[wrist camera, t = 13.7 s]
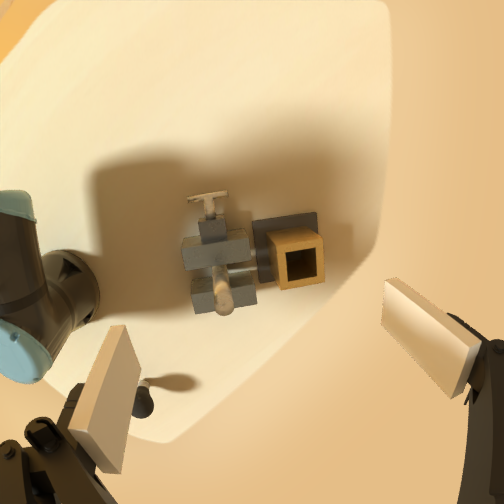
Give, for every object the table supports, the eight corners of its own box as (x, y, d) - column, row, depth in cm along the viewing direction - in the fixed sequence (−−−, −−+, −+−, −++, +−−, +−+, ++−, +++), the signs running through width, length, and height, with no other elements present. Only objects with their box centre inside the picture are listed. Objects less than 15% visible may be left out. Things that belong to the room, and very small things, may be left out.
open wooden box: (270, 271, 52) (280, 290, 45) (265, 232, 50) (276, 245, 43) (308, 264, 53) (324, 281, 46) (306, 225, 51) (322, 238, 43)
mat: (259, 282, 53) (260, 283, 53) (252, 221, 50) (252, 221, 49) (318, 271, 54) (319, 272, 54) (315, 212, 51) (316, 212, 50)
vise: (196, 297, 53) (193, 348, 38) (176, 196, 47) (162, 213, 32) (252, 288, 54) (268, 336, 39) (238, 186, 48) (252, 199, 33)
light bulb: (161, 388, 58) (157, 422, 49) (139, 392, 58) (132, 425, 48) (150, 369, 56) (143, 403, 47) (127, 374, 56) (118, 407, 46)
